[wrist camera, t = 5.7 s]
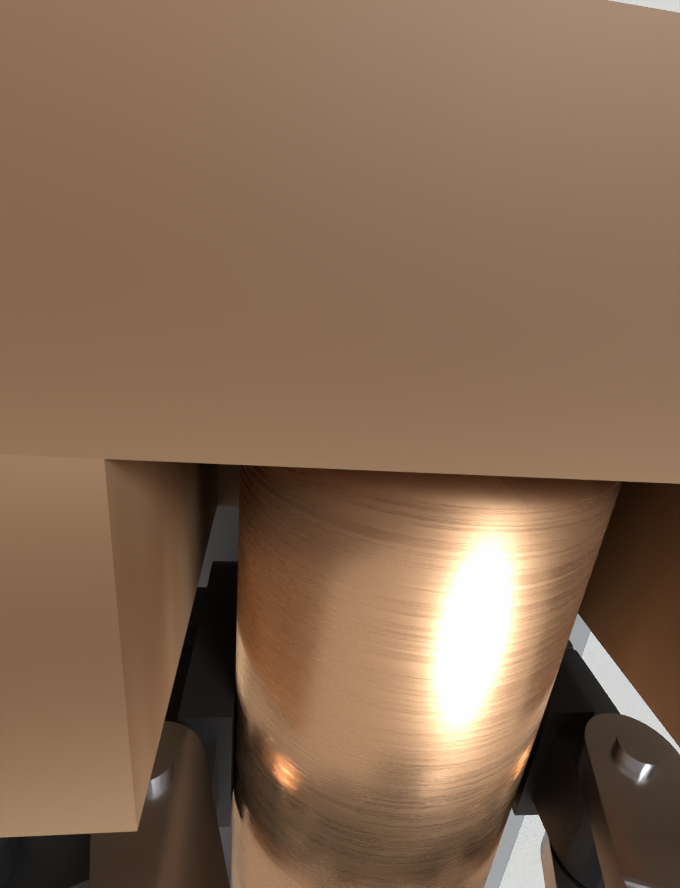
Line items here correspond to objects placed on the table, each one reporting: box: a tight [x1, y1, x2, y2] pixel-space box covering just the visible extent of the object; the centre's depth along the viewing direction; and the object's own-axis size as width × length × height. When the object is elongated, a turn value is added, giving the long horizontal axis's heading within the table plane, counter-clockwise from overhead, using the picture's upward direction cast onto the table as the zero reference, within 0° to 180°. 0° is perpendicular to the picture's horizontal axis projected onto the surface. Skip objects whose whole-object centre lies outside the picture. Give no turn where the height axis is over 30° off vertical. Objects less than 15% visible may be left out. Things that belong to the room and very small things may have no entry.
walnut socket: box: [0, 0, 680, 838], centre depth 6 cm, size 6×10×6 cm, turn 85°
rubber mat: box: [197, 506, 591, 888], centre depth 14 cm, size 34×12×1 cm, turn 175°
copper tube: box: [231, 465, 622, 888], centre depth 10 cm, size 18×4×4 cm, turn 175°
